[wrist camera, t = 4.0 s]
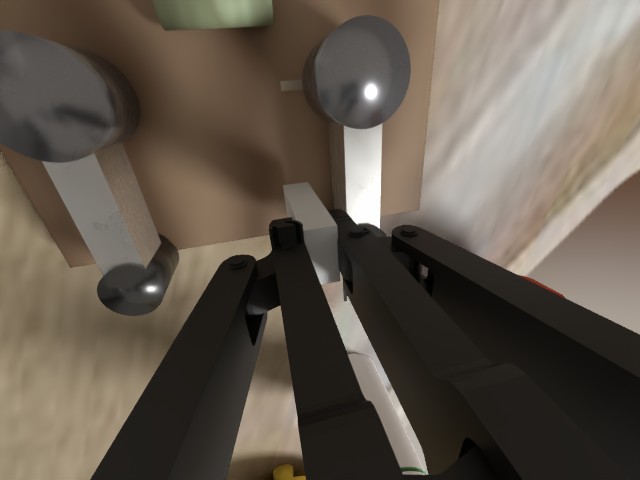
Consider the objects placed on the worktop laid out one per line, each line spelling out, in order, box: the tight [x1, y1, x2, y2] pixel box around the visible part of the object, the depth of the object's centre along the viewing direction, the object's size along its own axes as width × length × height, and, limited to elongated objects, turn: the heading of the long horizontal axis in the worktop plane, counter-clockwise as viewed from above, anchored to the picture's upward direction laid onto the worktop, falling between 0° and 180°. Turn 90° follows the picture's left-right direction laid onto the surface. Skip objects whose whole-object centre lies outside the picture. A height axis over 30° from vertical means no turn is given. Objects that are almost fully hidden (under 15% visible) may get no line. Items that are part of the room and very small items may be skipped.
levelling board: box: [0, 0, 439, 268], centre depth 16 cm, size 24×14×4 cm, turn 94°
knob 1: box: [0, 30, 179, 316], centre depth 14 cm, size 13×4×4 cm, turn 4°
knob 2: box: [302, 15, 411, 237], centre depth 16 cm, size 13×4×4 cm, turn 4°
